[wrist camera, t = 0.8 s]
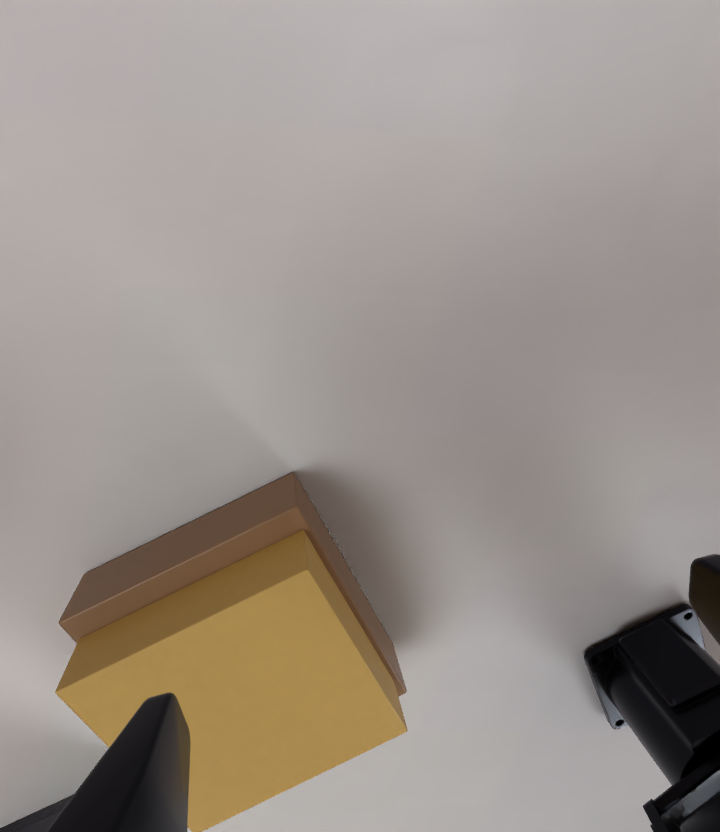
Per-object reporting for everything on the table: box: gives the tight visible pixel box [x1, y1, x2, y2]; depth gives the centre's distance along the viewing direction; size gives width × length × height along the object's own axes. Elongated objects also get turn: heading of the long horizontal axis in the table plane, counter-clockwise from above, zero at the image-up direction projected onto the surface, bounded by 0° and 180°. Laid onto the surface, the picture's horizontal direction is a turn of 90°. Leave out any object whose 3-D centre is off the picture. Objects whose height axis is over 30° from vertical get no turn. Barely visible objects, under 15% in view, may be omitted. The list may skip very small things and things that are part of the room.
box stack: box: [55, 472, 407, 832], centre depth 22 cm, size 11×10×6 cm
